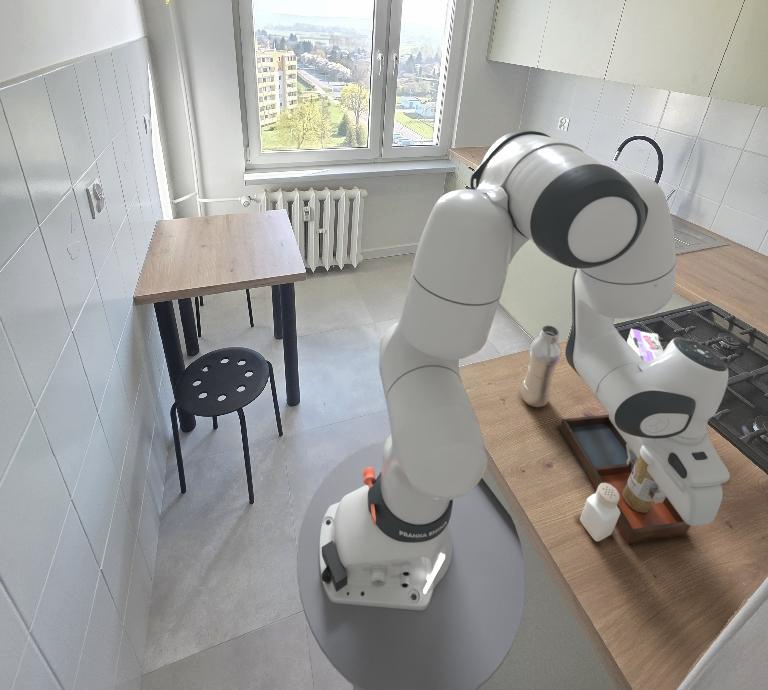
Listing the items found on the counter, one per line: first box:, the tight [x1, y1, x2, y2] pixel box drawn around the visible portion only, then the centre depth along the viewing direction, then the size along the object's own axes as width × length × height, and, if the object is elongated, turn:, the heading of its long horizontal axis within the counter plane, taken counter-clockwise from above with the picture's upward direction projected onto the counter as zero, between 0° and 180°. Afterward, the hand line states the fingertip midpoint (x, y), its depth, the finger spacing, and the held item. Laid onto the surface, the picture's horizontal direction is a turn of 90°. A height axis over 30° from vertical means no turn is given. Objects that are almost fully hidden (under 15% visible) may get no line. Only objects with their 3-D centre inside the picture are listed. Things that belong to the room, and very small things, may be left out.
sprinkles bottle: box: [622, 445, 659, 513], centre depth 73 cm, size 5×5×13 cm
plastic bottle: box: [520, 324, 562, 408], centre depth 93 cm, size 6×7×20 cm
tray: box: [559, 414, 692, 545], centre depth 80 cm, size 11×22×3 cm, turn 8°
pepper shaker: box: [579, 483, 620, 542], centre depth 70 cm, size 4×4×10 cm
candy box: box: [626, 328, 665, 362], centre depth 93 cm, size 14×6×16 cm, turn 161°
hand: (643, 482), depth 73 cm, fingers closed on sprinkles bottle, 4 cm apart
